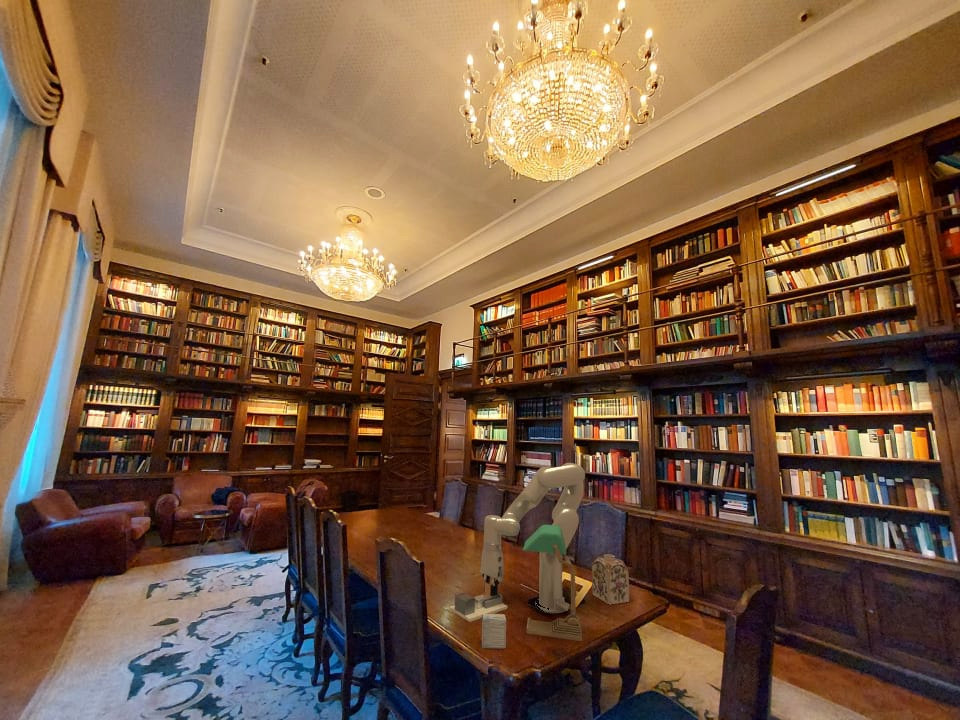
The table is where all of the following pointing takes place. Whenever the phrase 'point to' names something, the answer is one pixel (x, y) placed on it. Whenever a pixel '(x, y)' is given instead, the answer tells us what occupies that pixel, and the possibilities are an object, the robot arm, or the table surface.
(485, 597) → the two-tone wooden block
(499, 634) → the medicine box
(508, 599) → the table surface
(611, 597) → the decorative jar
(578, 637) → the banker's lamp
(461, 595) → the socket
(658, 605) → the table surface
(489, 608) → the board
